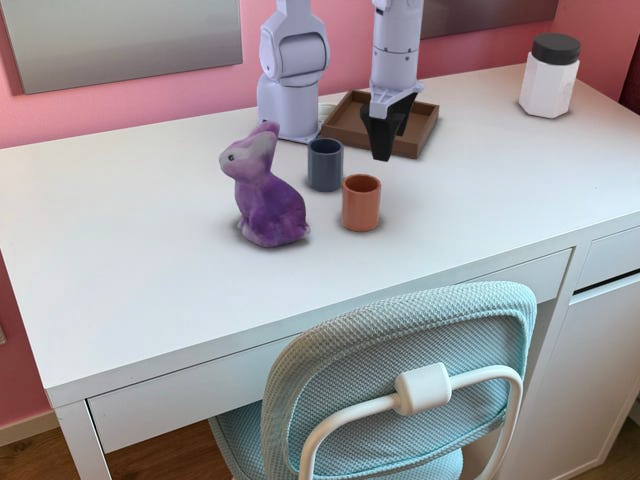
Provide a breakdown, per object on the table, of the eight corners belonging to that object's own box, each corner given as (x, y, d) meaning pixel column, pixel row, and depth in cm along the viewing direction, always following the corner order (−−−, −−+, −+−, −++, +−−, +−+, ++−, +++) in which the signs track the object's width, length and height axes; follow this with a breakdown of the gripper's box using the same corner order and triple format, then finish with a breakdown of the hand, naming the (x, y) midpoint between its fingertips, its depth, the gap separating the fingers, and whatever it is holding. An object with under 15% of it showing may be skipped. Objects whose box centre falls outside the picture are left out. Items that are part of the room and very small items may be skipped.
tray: (321, 140, 119) (321, 125, 117) (349, 102, 129) (350, 88, 128) (416, 159, 116) (418, 144, 114) (438, 119, 127) (439, 105, 125)
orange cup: (336, 227, 101) (337, 189, 97) (348, 208, 105) (349, 170, 100) (372, 235, 100) (374, 197, 96) (382, 215, 104) (385, 178, 100)
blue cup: (302, 187, 108) (302, 150, 104) (315, 171, 111) (314, 134, 107) (335, 195, 107) (336, 157, 103) (347, 177, 111) (348, 141, 106)
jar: (546, 123, 129) (561, 54, 120) (510, 106, 132) (523, 39, 124) (575, 109, 133) (592, 42, 125) (539, 94, 137) (553, 28, 129)
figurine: (222, 218, 101) (211, 115, 90) (293, 207, 104) (291, 106, 93) (239, 257, 94) (229, 151, 84) (314, 244, 98) (313, 140, 87)
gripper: (413, 72, 83) (403, 177, 93) (440, 30, 94) (429, 129, 103) (354, 61, 85) (351, 167, 94) (387, 21, 95) (381, 120, 104)
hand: (388, 146), depth 99 cm, fingers open, 7 cm apart
